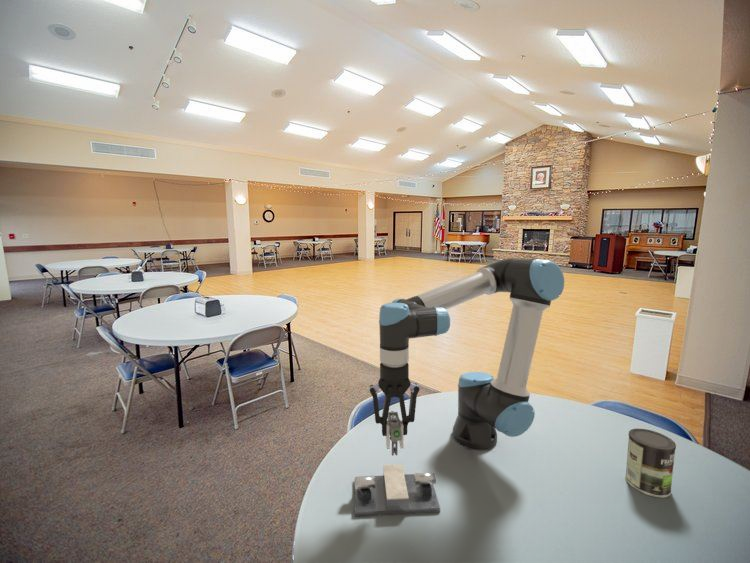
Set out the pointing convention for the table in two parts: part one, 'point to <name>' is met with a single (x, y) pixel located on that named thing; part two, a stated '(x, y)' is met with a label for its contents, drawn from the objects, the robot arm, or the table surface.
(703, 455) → the table surface
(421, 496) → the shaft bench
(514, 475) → the table surface
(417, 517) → the table surface
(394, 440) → the mechanical component
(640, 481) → the coffee can
